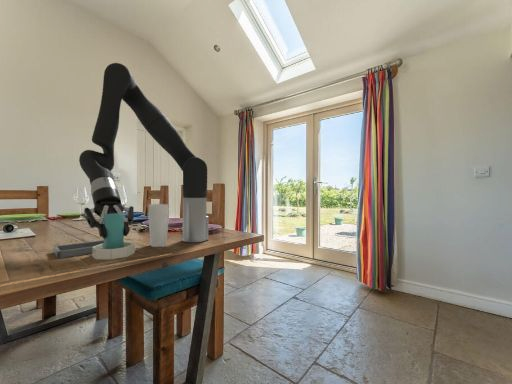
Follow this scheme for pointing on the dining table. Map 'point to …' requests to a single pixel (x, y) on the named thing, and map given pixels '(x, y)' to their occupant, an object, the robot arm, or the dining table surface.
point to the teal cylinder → (114, 230)
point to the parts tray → (75, 249)
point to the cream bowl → (113, 251)
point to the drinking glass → (158, 224)
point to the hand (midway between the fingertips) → (115, 235)
